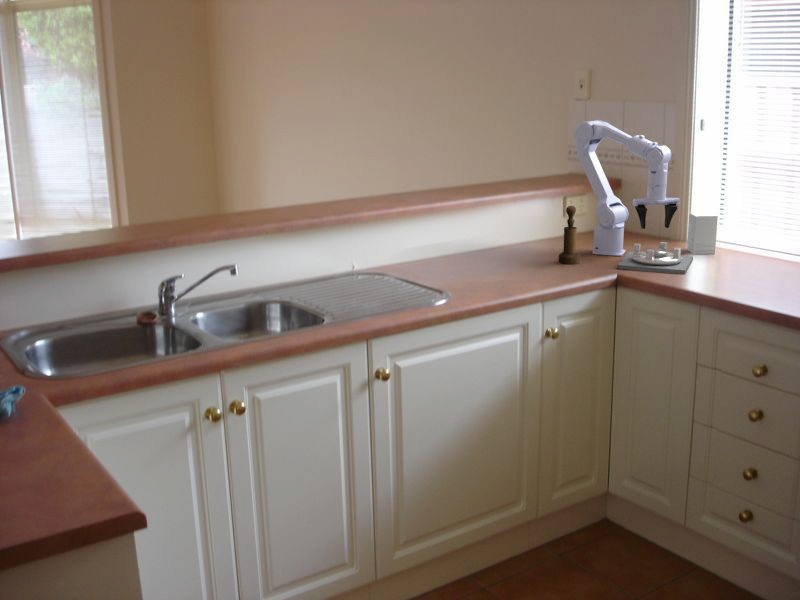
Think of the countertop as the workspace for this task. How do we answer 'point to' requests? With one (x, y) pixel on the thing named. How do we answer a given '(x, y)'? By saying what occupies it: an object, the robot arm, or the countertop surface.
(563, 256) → the brown chess piece
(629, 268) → the cap plate
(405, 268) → the countertop surface
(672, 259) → the domed lug disc
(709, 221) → the supplement box
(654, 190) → the robot arm
